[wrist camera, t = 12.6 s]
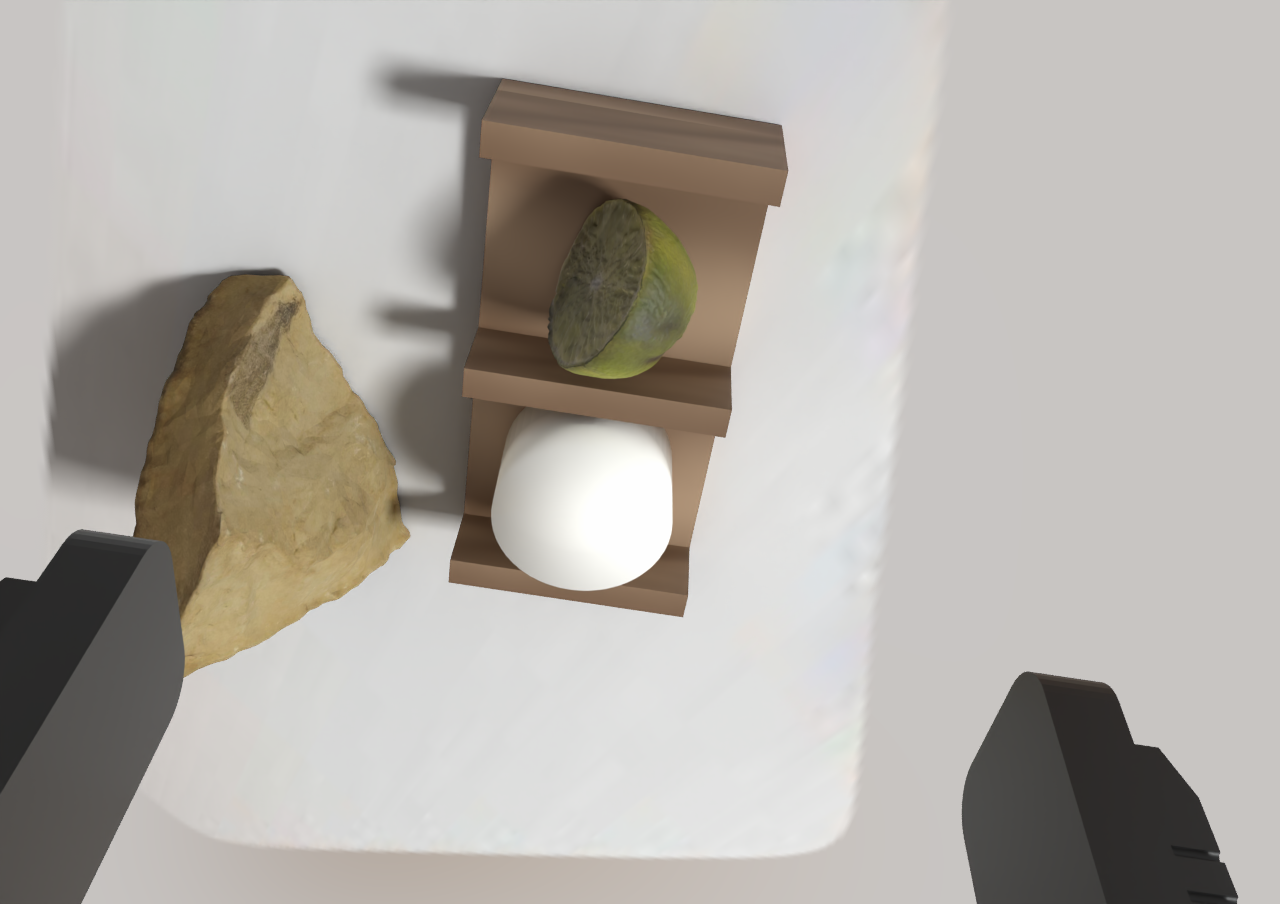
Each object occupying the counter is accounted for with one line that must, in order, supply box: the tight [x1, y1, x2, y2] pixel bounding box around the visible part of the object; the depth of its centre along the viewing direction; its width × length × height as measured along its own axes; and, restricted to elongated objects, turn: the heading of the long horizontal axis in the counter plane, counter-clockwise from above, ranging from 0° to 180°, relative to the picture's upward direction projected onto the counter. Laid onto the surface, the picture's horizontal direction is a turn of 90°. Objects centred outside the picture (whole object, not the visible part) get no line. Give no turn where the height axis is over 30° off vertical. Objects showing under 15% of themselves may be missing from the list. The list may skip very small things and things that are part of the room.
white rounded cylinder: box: [491, 407, 672, 591], centre depth 37 cm, size 6×6×4 cm
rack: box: [449, 79, 788, 617], centre depth 35 cm, size 16×8×4 cm, turn 171°
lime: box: [547, 198, 698, 379], centre depth 32 cm, size 4×5×5 cm
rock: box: [133, 274, 410, 678], centre depth 36 cm, size 11×9×10 cm
